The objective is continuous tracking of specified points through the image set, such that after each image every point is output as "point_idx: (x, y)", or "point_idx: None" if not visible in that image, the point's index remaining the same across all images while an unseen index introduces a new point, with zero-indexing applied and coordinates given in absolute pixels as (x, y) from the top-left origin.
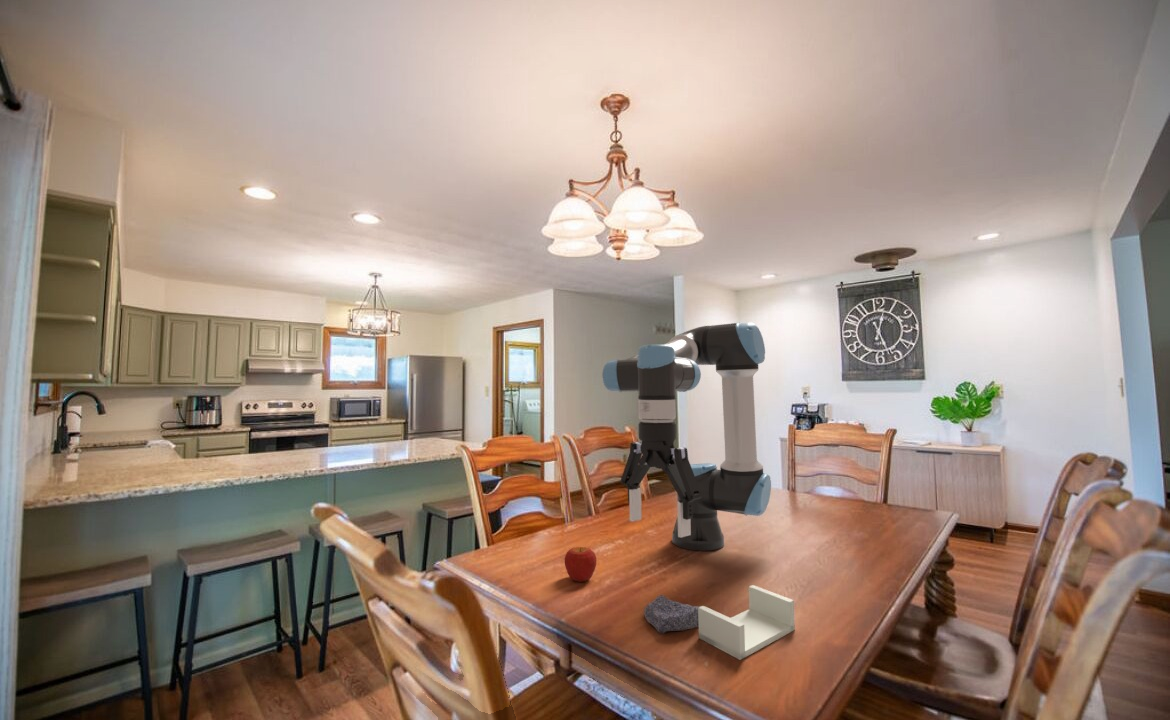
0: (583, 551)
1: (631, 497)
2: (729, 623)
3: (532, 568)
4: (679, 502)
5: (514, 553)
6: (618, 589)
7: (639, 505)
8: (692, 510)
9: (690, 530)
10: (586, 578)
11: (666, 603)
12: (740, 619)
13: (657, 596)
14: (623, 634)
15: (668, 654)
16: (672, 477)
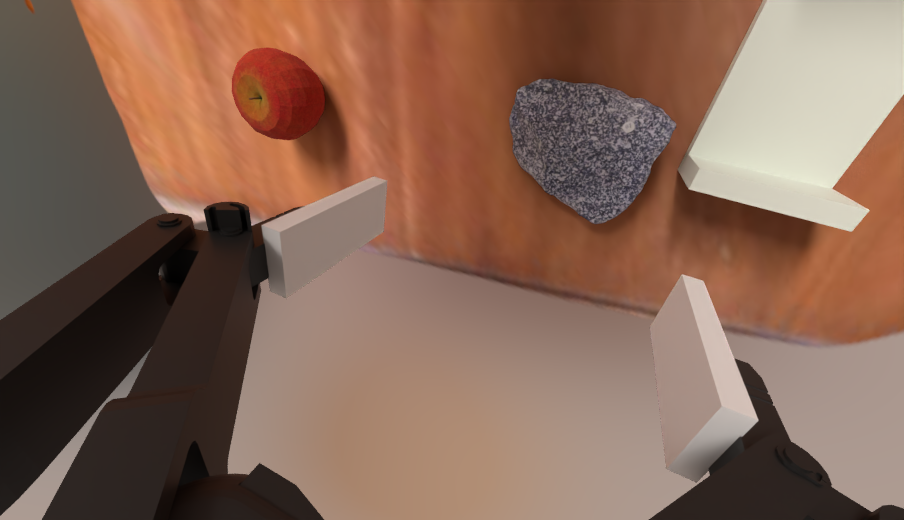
0: (264, 98)
1: (314, 277)
2: (810, 219)
3: (223, 120)
4: (686, 473)
5: (146, 83)
6: (395, 74)
7: (347, 211)
8: (773, 408)
9: (707, 293)
10: (324, 102)
11: (572, 161)
12: (793, 10)
13: (524, 119)
14: (525, 243)
15: (636, 260)
16: None
